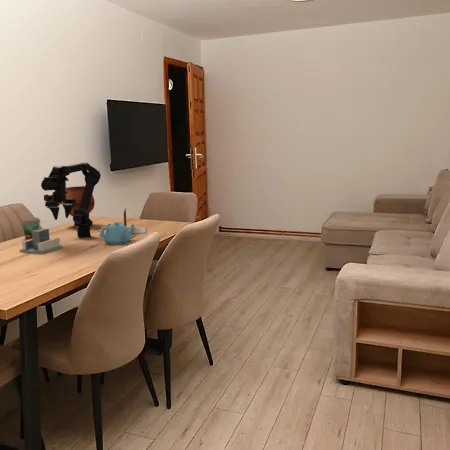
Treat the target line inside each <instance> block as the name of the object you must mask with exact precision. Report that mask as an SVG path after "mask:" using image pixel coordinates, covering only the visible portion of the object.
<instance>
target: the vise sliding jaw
mask: <svg viewBox="0 0 450 450" xmlns="http://www.w3.org/2000/svg"><path fill="white" fill-rule="evenodd" d="M21 245H22V249H25V250H26V249H29V248H33V241H32V238H29V239H27V240H23V241H21Z"/></svg>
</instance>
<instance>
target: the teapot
mask: <svg viewBox="0 0 450 450" xmlns="http://www.w3.org/2000/svg"><path fill="white" fill-rule="evenodd" d="M134 227H135V224H133V223H132V224H130V226H129V227H128V226H127V227H126V226H125V225H124V223H123V224H122V223H120V222H119V221H115V222H113V224H112V223H107V227H105V226H101V228H100V232H99V236H100V238H102V239H104V241H105V242H106V243H107V244H110V245H121V244H126V243H129V242H130V240H131V237H132V236H133V233H132V232H133V229H134ZM127 228H129V229H127Z"/></svg>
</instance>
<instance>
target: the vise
mask: <svg viewBox="0 0 450 450" xmlns="http://www.w3.org/2000/svg"><path fill="white" fill-rule="evenodd" d="M62 248H64V245H61V241H60V238H59V237H54V238H50V240H47V241H43V242H40V243H38V249H33V248H29V249H26V250H25V249H23V248H21V249H19V252H20V253H31V254H39V255H43V254H46V253H49V252H52V251H56V250H58V249H62Z"/></svg>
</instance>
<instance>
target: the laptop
mask: <svg viewBox="0 0 450 450" xmlns="http://www.w3.org/2000/svg"><path fill="white" fill-rule="evenodd" d="M123 225H125V226H126V227H127V229H129V227H128V226H127V208H124V211H123ZM146 227H147V226H139V227H137V226H136V227H135V226H134V229H133V232H132V235H133V234H136V235H137V234H139V233H140V234H146V233H147V228H146Z"/></svg>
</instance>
